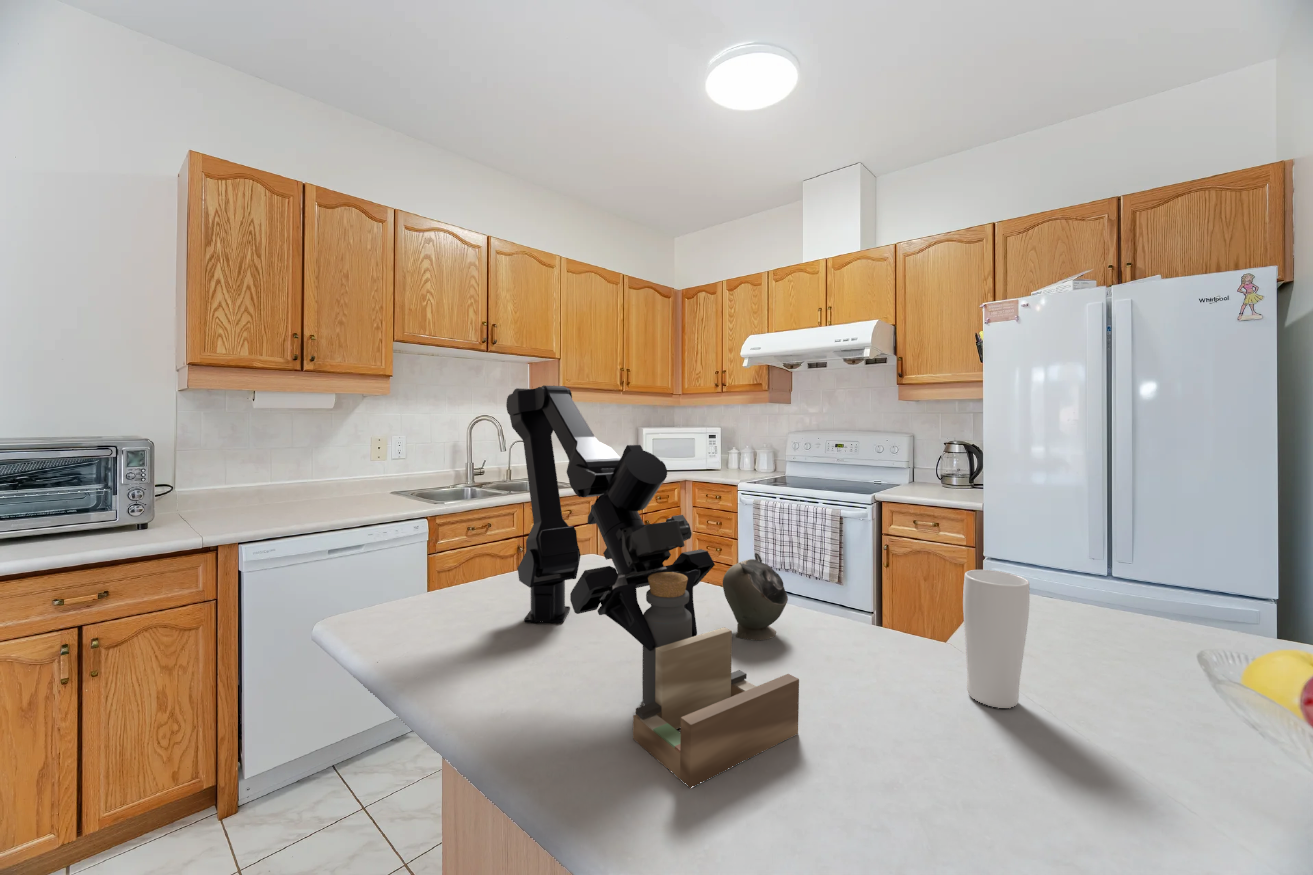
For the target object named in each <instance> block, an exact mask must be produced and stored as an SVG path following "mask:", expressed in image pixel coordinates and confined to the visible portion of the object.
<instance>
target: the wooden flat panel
mask: <svg viewBox="0 0 1313 875" xmlns="http://www.w3.org/2000/svg"><path fill="white" fill-rule="evenodd" d="M732 632H733V630H732V629H730V628H727V627H721V628H718V629H714V630H711V631H707V632H704V633H701V634H697V635H696V636H694V637H690V638H687V639H684V640H681V641H677V642H674V643H671V644H667V645H664V646H661V647H657V648H656V672H655V701H654V702H652V703H649V704H646V705H644V704H643V705H641V706H639V707H636V708H635V715H636V714H637V715H638V716H639V717H640V718H642V719H644V718H647V717H649V716H652V715H654V714H656V715H658V716H659V717H660V718H662V719H663V720H664V721H666V722H667V723H668V724H669V725H671V726H672V727H673V728H675V729H676V730H678V729H681V717H683V716H685V715H688V714H690V713H693V712H695V711H698V710H700V709H703V708H705V707H707V706H710V705H712V704H715V703H717V702H720V701H722V700H725V699H727V698H730V697H731V684H734V683H737V682H739V681H742V680H747V673H746V672H745V671H742V669H741V670H740V669H738V670H735V671H733V672H732V646H733V645H732V644H733V643H732V641H733V640H732V638H733V637H732V636H733V634H732Z"/></svg>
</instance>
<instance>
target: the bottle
mask: <svg viewBox="0 0 1313 875" xmlns="http://www.w3.org/2000/svg"><path fill="white" fill-rule="evenodd" d="M687 580H688V578H687V576H685V575H683V574H680V573H674V572H660V573H655V574H652V575H650V576H649V577H648V581H649V585H648V586H649V589H648V590H647V591H646V594H645V600H646V602H647V603H648V604H649V605H650V607H648V608H647V609H646V610H645V611H644V612H643V615H644V617H645V620H646V622H647V624H648V626H649V629H650V631H651V633H652V636H653V639H654V642H655V646H656V647H655V648H654V649H653V650H652V651H649V650H648V649H647V648H645V647H644V646H643V645H642V673H641V674H642V675H641V676H642V677H641V678H642V681H641V682H642V704H643V706H644V705H646V704H649V703H652V702H654V701H655V672H656V648H657V647H661V646H664V645H667V644H671V643H674V642H677V641H681V640H684V639H687V638H690V637H692V615H691V613H690V612H689V611H688V610H687V609H686V608H684V605H685V604H687V603H688V602H689V592H688V591H687V590H686V585H687Z"/></svg>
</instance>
